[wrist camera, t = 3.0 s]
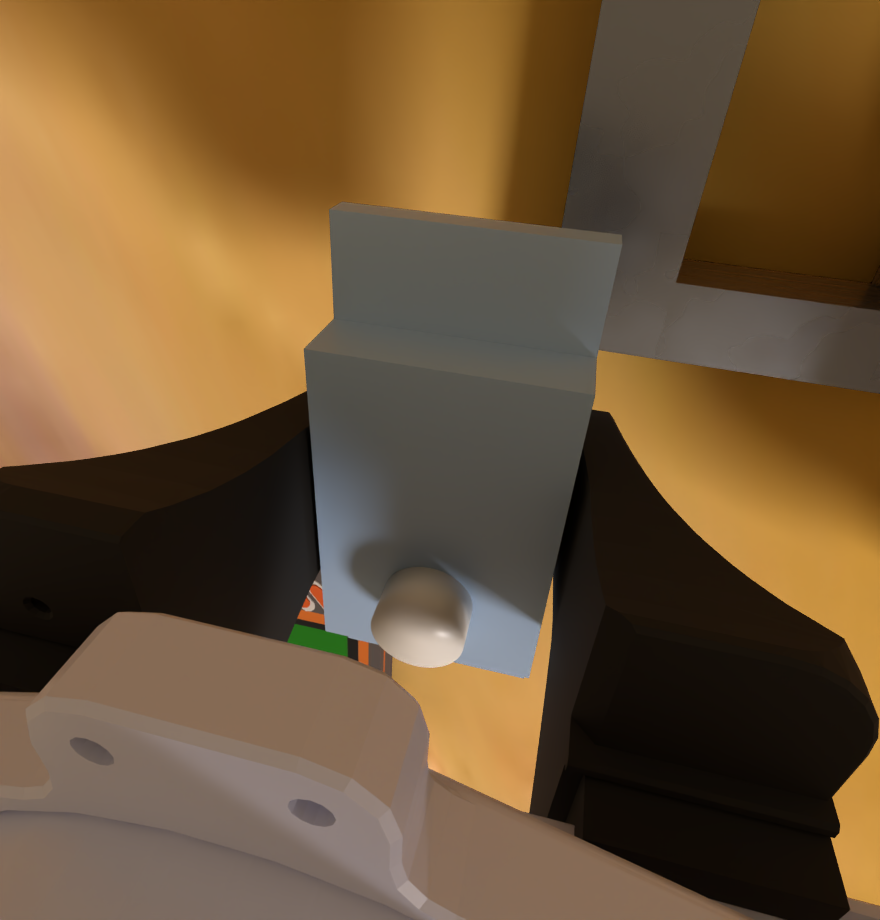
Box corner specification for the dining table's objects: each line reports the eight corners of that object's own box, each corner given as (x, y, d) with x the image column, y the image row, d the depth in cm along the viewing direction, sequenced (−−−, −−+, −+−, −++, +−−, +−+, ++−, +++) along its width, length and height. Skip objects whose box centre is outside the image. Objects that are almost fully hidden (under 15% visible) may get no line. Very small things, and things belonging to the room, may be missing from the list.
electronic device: (380, 496, 23) (376, 734, 31) (401, 457, 26) (393, 686, 34) (217, 466, 24) (254, 703, 32) (252, 430, 27) (278, 659, 35)
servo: (619, 187, 11) (625, 295, 6) (540, 557, 16) (512, 764, 12) (404, 164, 12) (264, 247, 7) (396, 528, 17) (314, 713, 12)
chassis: (1429, -398, 10) (1691, -537, 8) (951, 371, 18) (1003, 422, 16) (673, -388, 12) (691, -500, 9) (547, 311, 20) (539, 349, 17)
